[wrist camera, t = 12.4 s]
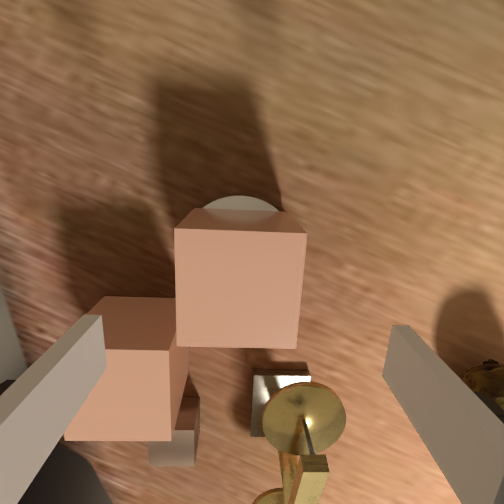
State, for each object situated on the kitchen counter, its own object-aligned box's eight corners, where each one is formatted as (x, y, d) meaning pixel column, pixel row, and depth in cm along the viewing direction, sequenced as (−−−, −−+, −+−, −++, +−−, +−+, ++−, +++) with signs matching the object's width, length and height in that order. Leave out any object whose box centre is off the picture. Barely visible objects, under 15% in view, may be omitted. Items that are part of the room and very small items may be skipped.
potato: (440, 439, 37) (492, 511, 30) (434, 348, 34) (491, 402, 26) (509, 425, 37) (580, 493, 30) (510, 331, 34) (590, 381, 26)
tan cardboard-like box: (104, 296, 31) (51, 348, 22) (188, 298, 31) (168, 350, 22) (110, 367, 33) (64, 440, 24) (189, 368, 33) (171, 441, 25)
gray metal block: (158, 396, 34) (146, 430, 30) (199, 396, 35) (194, 430, 30) (160, 429, 36) (149, 466, 31) (199, 429, 36) (194, 466, 31)
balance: (256, 312, 32) (270, 430, 18) (314, 314, 32) (372, 431, 18) (247, 473, 38) (252, 657, 24) (296, 473, 38) (330, 655, 24)
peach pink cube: (194, 207, 28) (174, 228, 19) (286, 211, 28) (307, 233, 19) (194, 293, 30) (176, 346, 21) (280, 295, 30) (296, 348, 22)
